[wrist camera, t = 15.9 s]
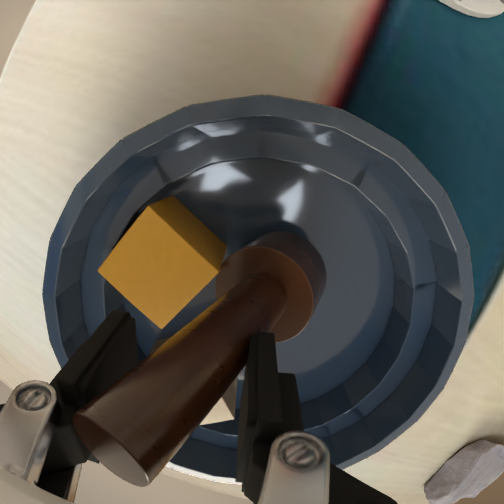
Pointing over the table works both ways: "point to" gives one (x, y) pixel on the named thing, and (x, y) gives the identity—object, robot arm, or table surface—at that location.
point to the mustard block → (164, 260)
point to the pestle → (202, 357)
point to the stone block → (466, 473)
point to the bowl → (305, 225)
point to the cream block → (224, 406)
